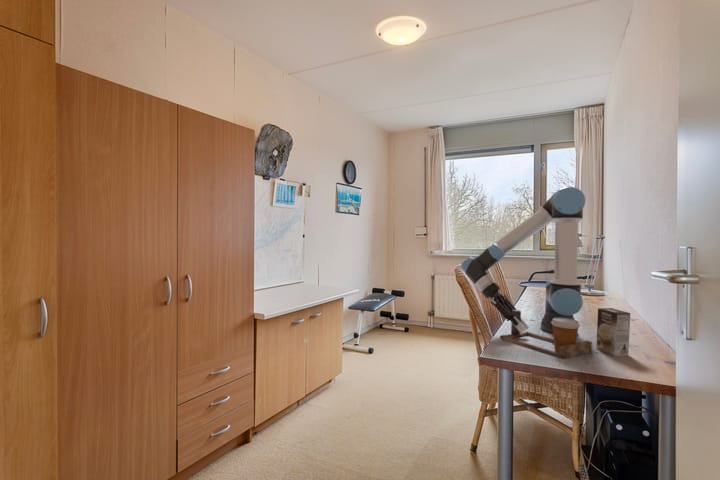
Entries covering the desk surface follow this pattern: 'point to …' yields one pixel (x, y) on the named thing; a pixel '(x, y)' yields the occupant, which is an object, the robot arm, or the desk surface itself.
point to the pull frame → (564, 350)
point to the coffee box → (613, 331)
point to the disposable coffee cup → (564, 331)
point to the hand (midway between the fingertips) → (524, 330)
